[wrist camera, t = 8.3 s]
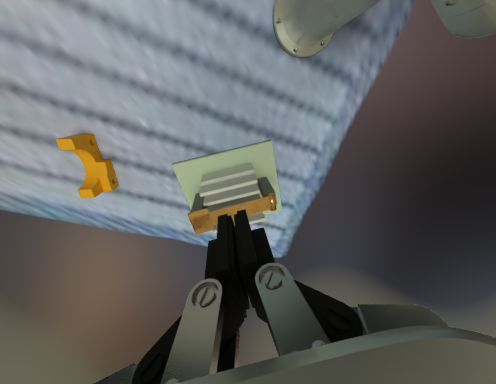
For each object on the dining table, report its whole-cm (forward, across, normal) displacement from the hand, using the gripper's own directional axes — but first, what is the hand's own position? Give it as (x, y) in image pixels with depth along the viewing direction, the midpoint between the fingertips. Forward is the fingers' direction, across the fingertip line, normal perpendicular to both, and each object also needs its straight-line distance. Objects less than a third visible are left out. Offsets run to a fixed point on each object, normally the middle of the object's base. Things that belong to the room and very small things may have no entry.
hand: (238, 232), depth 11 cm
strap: (+24, +2, +13) cm, 27 cm away
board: (+35, +2, +13) cm, 37 cm away
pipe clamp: (+36, +29, -1) cm, 46 cm away
